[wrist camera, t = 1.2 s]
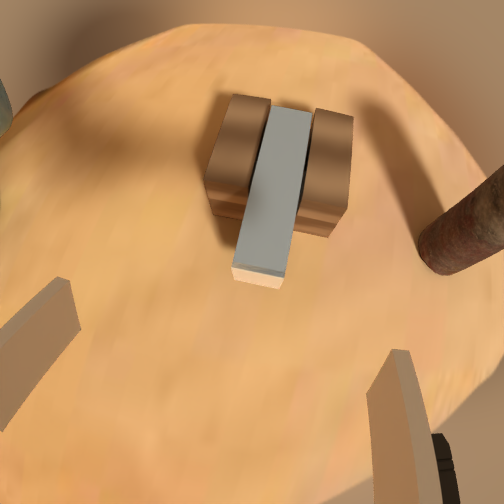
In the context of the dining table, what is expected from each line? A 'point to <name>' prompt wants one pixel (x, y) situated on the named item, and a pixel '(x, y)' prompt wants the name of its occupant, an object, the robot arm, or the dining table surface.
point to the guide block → (314, 174)
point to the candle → (467, 229)
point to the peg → (273, 200)
